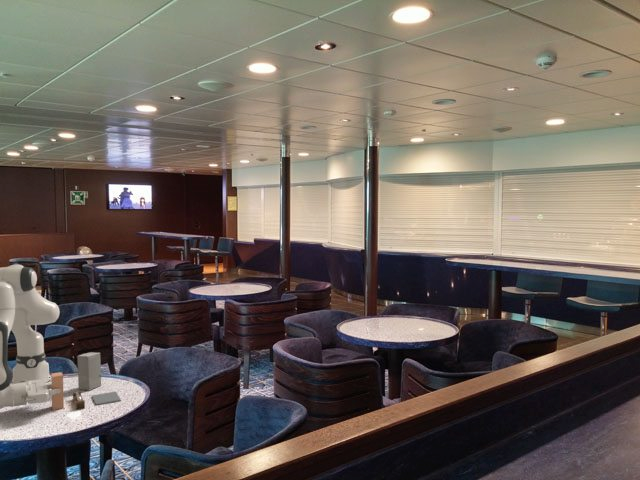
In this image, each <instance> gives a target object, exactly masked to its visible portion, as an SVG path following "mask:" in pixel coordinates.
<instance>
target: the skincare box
mask: <svg viewBox="0 0 640 480" xmlns="http://www.w3.org/2000/svg"><path fill="white" fill-rule="evenodd" d="M76 357H77V358H76V359H77V377H78V381H77V382H78V383H77V384H78V390H84V391H91V390H93V389H95V388H98V387H100V386H102V368H101V367H102V366H101V362H102V361H101V352H94V351H93V352H92V351H91V352H87V353H82V354H79V355H77V356H76Z"/></svg>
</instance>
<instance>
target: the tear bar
mask: <svg viewBox="0 0 640 480" xmlns="http://www.w3.org/2000/svg"><path fill="white" fill-rule="evenodd" d="M72 400H73V403H74V406H75V409H76V410H83V409H85V406H86V405H85V403H86V402H85V400H84V399H83V397H82V392H81V390H80V391H74V392H72Z"/></svg>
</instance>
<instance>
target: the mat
mask: <svg viewBox="0 0 640 480" xmlns="http://www.w3.org/2000/svg"><path fill="white" fill-rule="evenodd" d="M91 398H92V400H93V403H94V404H95V406H99V405H100V406H101V405H106V404H111V403H117V402H121V398H120V396H119V395H118V393H117V391H111V392H110V391H109V392H105V393H99V394H93V395H91Z"/></svg>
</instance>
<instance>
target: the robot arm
mask: <svg viewBox="0 0 640 480" xmlns="http://www.w3.org/2000/svg"><path fill="white" fill-rule="evenodd" d="M37 276H38V275H37V273H36V271H35V269H33V268H32V267H29V266H23V265H22V264H19V263H18V264H12V265H8V266H4V267H0V410H1V409H4V408H8V407H11V408H13V407H19V406H26V405H27V404H30V405H31V404H34V405H35V404H41V403H42V404H43V403H47V402H49V401H50V397H52V395H54V394H57V393H60V392H61V389H60V388H55V389H54V390H52V386H51V383H48V382H51V373H50V366H49V363H48V362H47V361H46V360H45V359H46V353H45V348H44V347H45V343H44V337H43V335H42V334H41V333H40V332H38V331H36V330H34V329H33V328H32V327H31V326H37V325H38V326H40V325H41V326H42V325H49V324H53V323H56V322H57V320H59V317H60V307H59V306H58V304H57V303H56V302H52V301H50V300H49V299H46V298H45V297H43V296H42V295H41V294H40V293H39V292H38V291H37V288H36V285H37V281H38V277H37ZM11 332H12V333H13V336H14V337H15V341H16V352H17V354H16V357H15V360H16V365H15V366H13V368H12V369H11V367H10V366H9V363H8V341H9V336H10V333H11ZM49 377H50V378H49ZM11 382H13V383H11Z"/></svg>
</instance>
